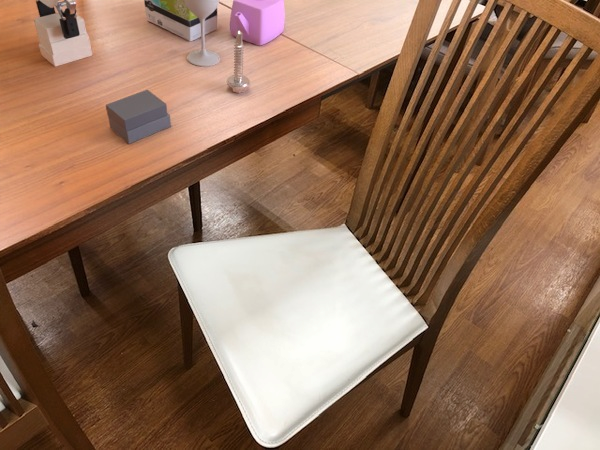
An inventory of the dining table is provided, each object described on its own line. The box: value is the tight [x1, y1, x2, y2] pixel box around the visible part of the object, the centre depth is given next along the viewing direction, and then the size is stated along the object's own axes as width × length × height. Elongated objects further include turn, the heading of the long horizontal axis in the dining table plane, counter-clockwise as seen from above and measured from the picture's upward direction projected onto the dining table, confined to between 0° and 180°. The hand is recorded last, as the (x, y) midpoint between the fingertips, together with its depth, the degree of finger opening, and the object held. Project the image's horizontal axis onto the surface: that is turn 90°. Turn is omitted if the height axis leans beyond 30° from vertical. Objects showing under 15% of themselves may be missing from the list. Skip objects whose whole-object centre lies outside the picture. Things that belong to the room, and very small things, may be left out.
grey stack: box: [105, 89, 172, 145], centre depth 93 cm, size 9×6×5 cm
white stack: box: [36, 32, 93, 67], centre depth 108 cm, size 8×6×5 cm
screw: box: [226, 30, 251, 94], centre depth 102 cm, size 13×5×5 cm
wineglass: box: [184, 0, 221, 68], centre depth 107 cm, size 8×8×21 cm
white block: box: [33, 12, 88, 43], centre depth 105 cm, size 8×6×3 cm
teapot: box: [229, 0, 286, 46], centre depth 122 cm, size 18×10×10 cm, turn 150°
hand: (60, 27), depth 105 cm, fingers open, 9 cm apart
